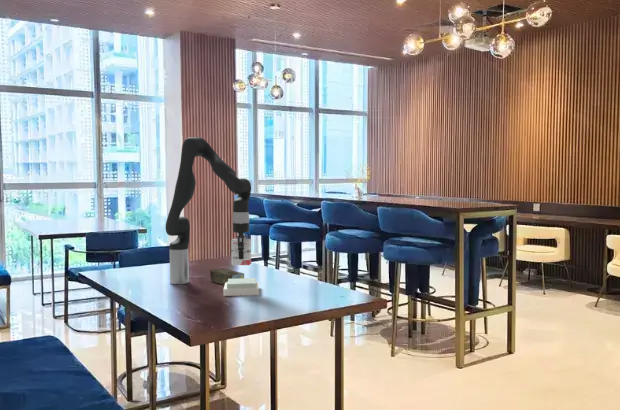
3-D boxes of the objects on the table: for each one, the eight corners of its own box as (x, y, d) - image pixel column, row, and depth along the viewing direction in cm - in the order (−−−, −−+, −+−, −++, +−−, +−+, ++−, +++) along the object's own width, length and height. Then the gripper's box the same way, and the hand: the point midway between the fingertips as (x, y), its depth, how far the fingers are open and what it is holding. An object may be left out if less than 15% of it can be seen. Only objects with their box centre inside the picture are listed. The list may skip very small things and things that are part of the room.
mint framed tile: (225, 288, 268) (225, 278, 267) (259, 287, 269) (259, 277, 269) (223, 295, 252) (223, 284, 252) (259, 295, 253) (259, 284, 253)
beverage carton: (231, 287, 272) (231, 273, 271) (209, 282, 286) (209, 269, 285) (245, 285, 277) (244, 271, 277) (222, 279, 291) (222, 267, 291)
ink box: (251, 263, 262) (251, 238, 261) (249, 265, 257) (249, 239, 256) (233, 263, 263) (233, 238, 262) (230, 265, 258) (230, 239, 257)
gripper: (233, 220, 265) (233, 256, 266) (232, 223, 251) (232, 260, 252) (249, 220, 266) (249, 255, 267) (248, 223, 252) (249, 260, 253)
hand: (241, 258), depth 260 cm, fingers closed on ink box, 5 cm apart
